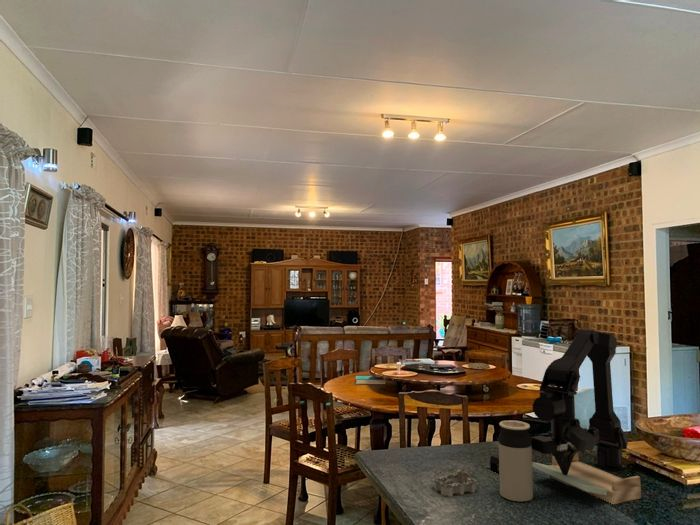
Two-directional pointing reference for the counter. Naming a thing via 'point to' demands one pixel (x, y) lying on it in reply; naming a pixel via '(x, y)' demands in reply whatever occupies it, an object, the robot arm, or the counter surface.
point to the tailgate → (569, 479)
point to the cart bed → (605, 482)
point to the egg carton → (455, 483)
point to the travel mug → (515, 461)
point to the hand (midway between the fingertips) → (565, 474)
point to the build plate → (494, 463)
